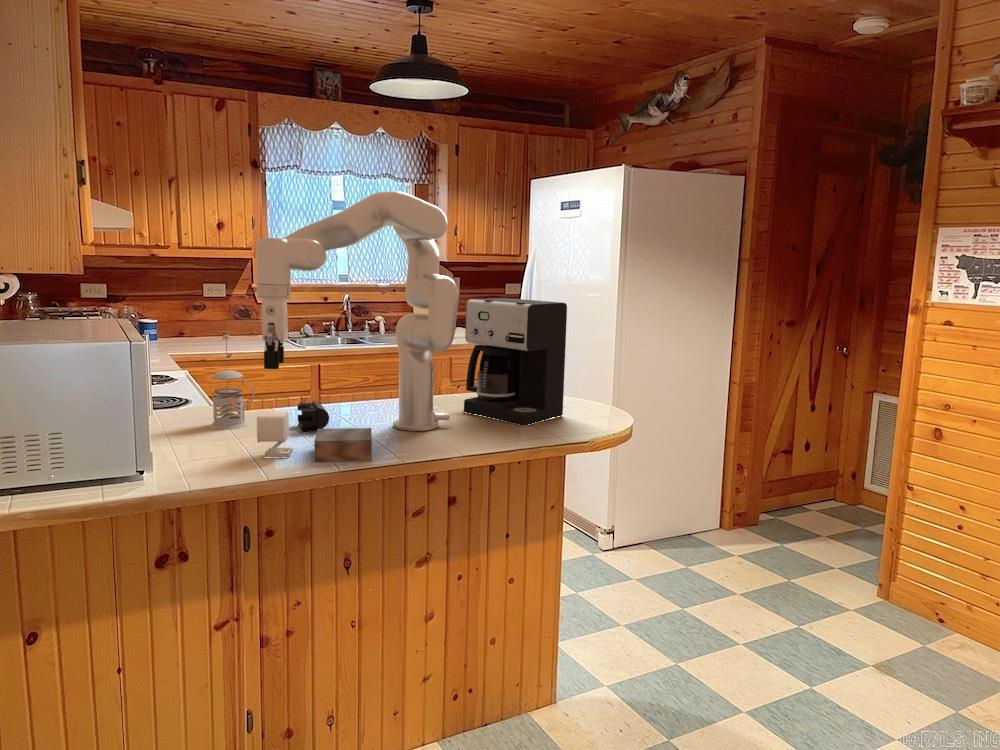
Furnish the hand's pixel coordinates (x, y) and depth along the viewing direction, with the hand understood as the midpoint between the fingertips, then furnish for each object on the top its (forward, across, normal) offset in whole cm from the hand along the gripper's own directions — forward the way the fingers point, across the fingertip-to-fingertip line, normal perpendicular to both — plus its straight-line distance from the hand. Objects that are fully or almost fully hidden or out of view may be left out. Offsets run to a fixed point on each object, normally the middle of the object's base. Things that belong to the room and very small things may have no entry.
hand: (274, 365), depth 176 cm
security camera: (+22, 0, 0) cm, 22 cm away
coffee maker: (+20, +42, -64) cm, 79 cm away
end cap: (+21, +27, -7) cm, 35 cm away
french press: (+21, +31, +15) cm, 41 cm away
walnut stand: (+21, -1, -16) cm, 27 cm away
